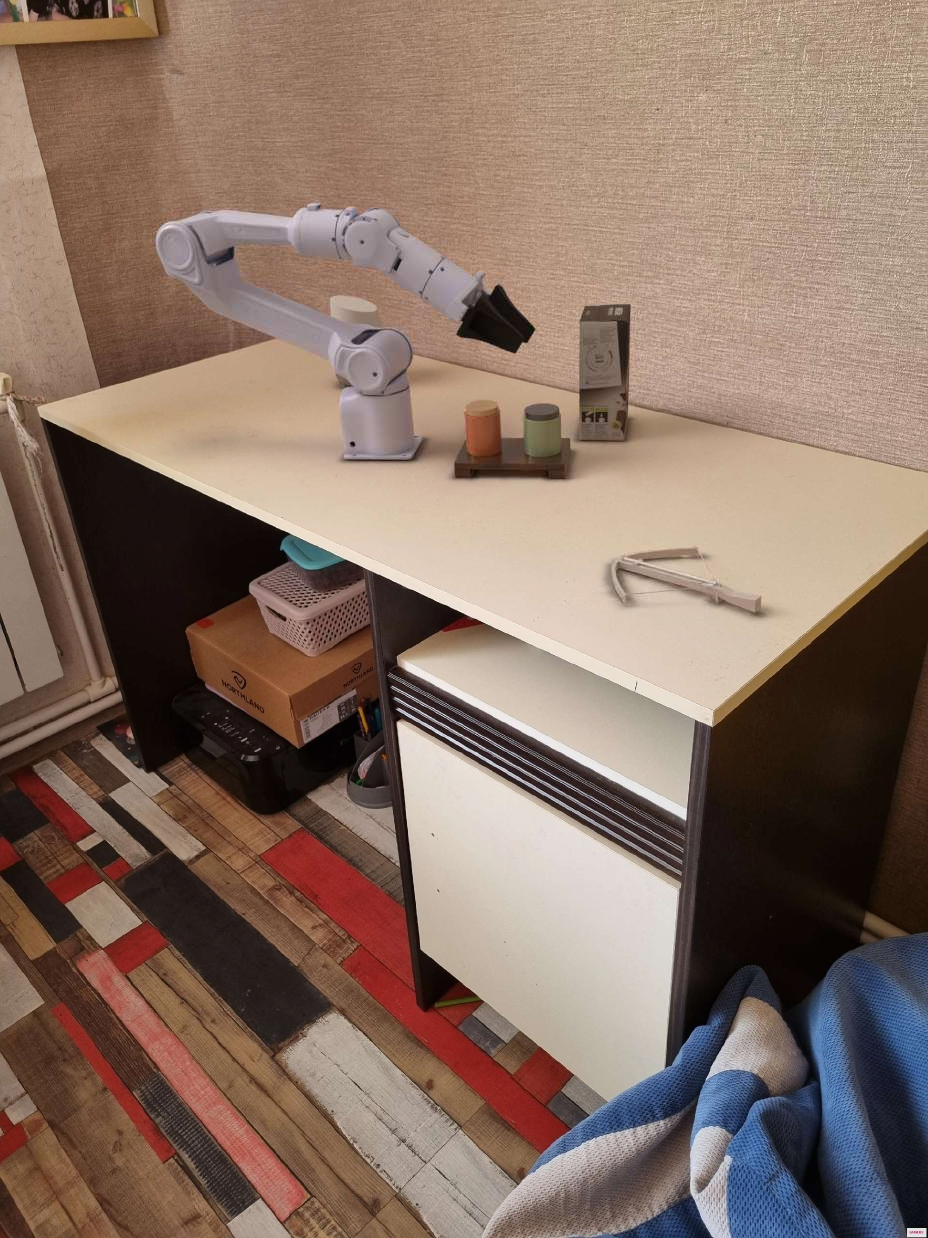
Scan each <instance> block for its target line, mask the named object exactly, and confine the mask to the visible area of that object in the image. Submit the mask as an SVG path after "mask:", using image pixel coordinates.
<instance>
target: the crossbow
mask: <svg viewBox="0 0 928 1238" xmlns="http://www.w3.org/2000/svg"><path fill="white" fill-rule="evenodd" d="M696 555H699V556H700V558H701V560H702V561H703V562H704V565H705V566H706V568H707V570H708V572H709V574H710V575H711V577H712V578H713V579H711V578H709V579H707V578H705V577H701V576H697V575H693V574H690V573H686V572H682V571H679V570H675V569H671V568H667V567H664V566H660V565H656V564H653V563H649V562H646V561H644V560H647V559H653V558H654V559H655V558H667V557H675V556H676V557H677V556H696ZM610 567H611V579H612V583H613V586H614V588H615V591H616V592H617V594H618V595H619V597H620V598H621V602H623V603H627V596H632V595H641V594H642V595H643V594H652V593H662V592H663V593H664V592H673V591H683V590H684V591H685V590H695V591H700V592H703V593H707V594H710V595H712V599H714V600H715V603H716V604H719V603H721V602H722V601H725V602H726V603H729V604H731V605H734V606H737V607H739V608H742V609H744V610H746V611H749V612H752V613H756V612H757V611H759V610H760V609H761V608H762V595H759V594H754V593H748V592H742V591H737V590H734V589H732V588H731V587H729V586H727V585H725V584H723V583H721V582H717V580H716V578H715V576H714V575H713V573H712V571H711V570H710V568H709V566H708V564H707V562H706V560H705V559H704V557H703V556H702V554H701V552H700V551H699V547H698V546H695V545H694V546H690V547H672V548H661V549H650V550H649V549H648V550H645V551H643V550H642V551H636V552H631V553H627V554H622V555H620V556H619V557H617V558H615V559H613V561H612V564H611V565H610ZM619 569H621V570H626V571H629V572H631V573H636V574H639V575H643V576H646V577H650V578H654V579H658V580H661V581H665V582H667V583H670V584H671V583H672V584H675V585H679V586H682V587H685V588H675V589H665V590H655V591H645V592H644V591H643V592H634V593H633V592H632V593H626V592H625V591H624V589H623V587H622V586H621V584H620V581H619V580H618V577H617V571H618V570H619Z"/></svg>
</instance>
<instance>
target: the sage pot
mask: <svg viewBox="0 0 928 1238" xmlns="http://www.w3.org/2000/svg"><path fill="white" fill-rule="evenodd" d="M522 431H523V437H522V438H524V452H525V454H527V455H529V456H533V457H550V456H554V455H556V454H558V453H560V452H561V438H562V414H561V412H560V407H559V406H558V405H556V404H553V403H546V402H544V403H534V404H530V405H527V406H525V408H524V410H523V415H522Z"/></svg>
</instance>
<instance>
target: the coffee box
mask: <svg viewBox="0 0 928 1238" xmlns="http://www.w3.org/2000/svg"><path fill="white" fill-rule="evenodd" d="M631 308H632V306H631V304H630V303H614V304H601V305H585V306H584V307H583V310H582V313H581V316H580V319H579V341H578V342H579V343H578V345H579V347H578V348H579V349H578V350H579V352H578V353H579V354H578V355H579V358H578V359H579V361H578V362H579V363H578V366H579V367H578V371H579V373H578V375H579V377H578V381H579V382H578V383H579V385H578V391H579V392H578V393H579V394H578V421H579V422H578V425H579V426H578V439H579V440H580V441H615V442H616V441H618V442H620V441H621V442H622V441H624V440H625V438H626V431H627V425H628V420H629V419H628V418H629V397H630V396H629V395H630V394H629V393H630V392H629V391H630V357H631V355H630V353H631V350H630V349H631V311H632V309H631Z"/></svg>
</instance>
